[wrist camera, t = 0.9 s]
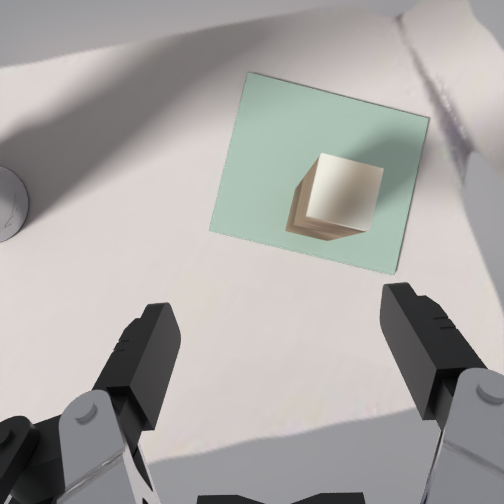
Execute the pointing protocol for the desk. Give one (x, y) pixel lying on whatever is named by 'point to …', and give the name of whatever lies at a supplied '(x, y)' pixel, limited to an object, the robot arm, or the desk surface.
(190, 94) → the desk surface
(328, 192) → the walnut block
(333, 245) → the sage mat
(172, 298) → the desk surface
